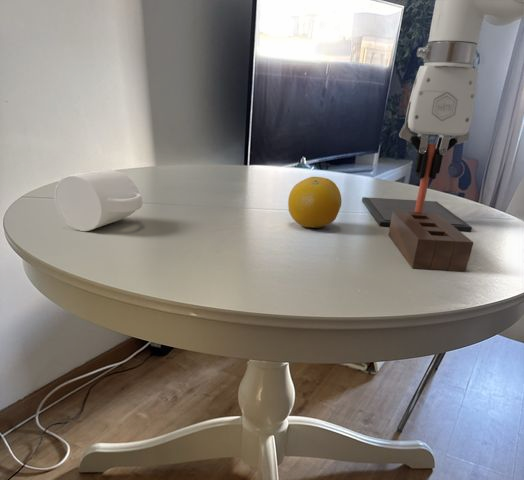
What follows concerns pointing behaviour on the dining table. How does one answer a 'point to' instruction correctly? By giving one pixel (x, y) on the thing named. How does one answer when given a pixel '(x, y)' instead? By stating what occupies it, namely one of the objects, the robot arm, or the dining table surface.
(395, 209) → the tablet
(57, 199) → the mug
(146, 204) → the dining table surface
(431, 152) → the stylus
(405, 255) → the pen stand
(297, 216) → the fruit
